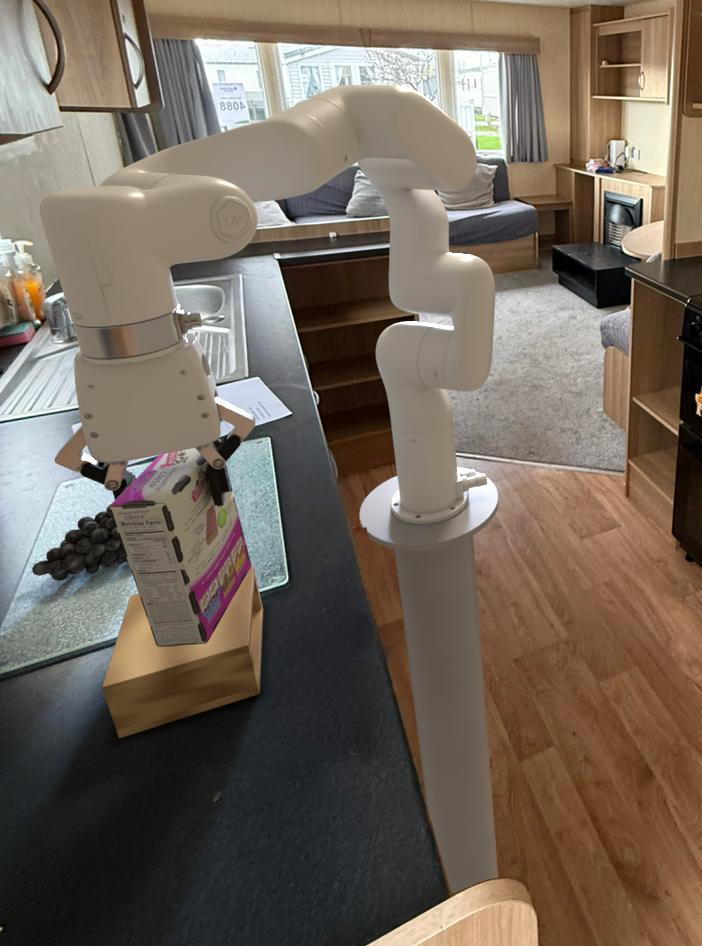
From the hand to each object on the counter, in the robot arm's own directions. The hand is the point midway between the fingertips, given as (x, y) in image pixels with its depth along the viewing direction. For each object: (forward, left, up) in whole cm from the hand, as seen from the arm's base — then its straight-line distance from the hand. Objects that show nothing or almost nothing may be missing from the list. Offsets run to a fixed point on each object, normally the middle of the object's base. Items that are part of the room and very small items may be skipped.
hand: (179, 506), depth 62 cm
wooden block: (+4, -7, -25) cm, 26 cm away
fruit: (+18, -33, -25) cm, 45 cm away
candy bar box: (0, 0, -12) cm, 12 cm away
